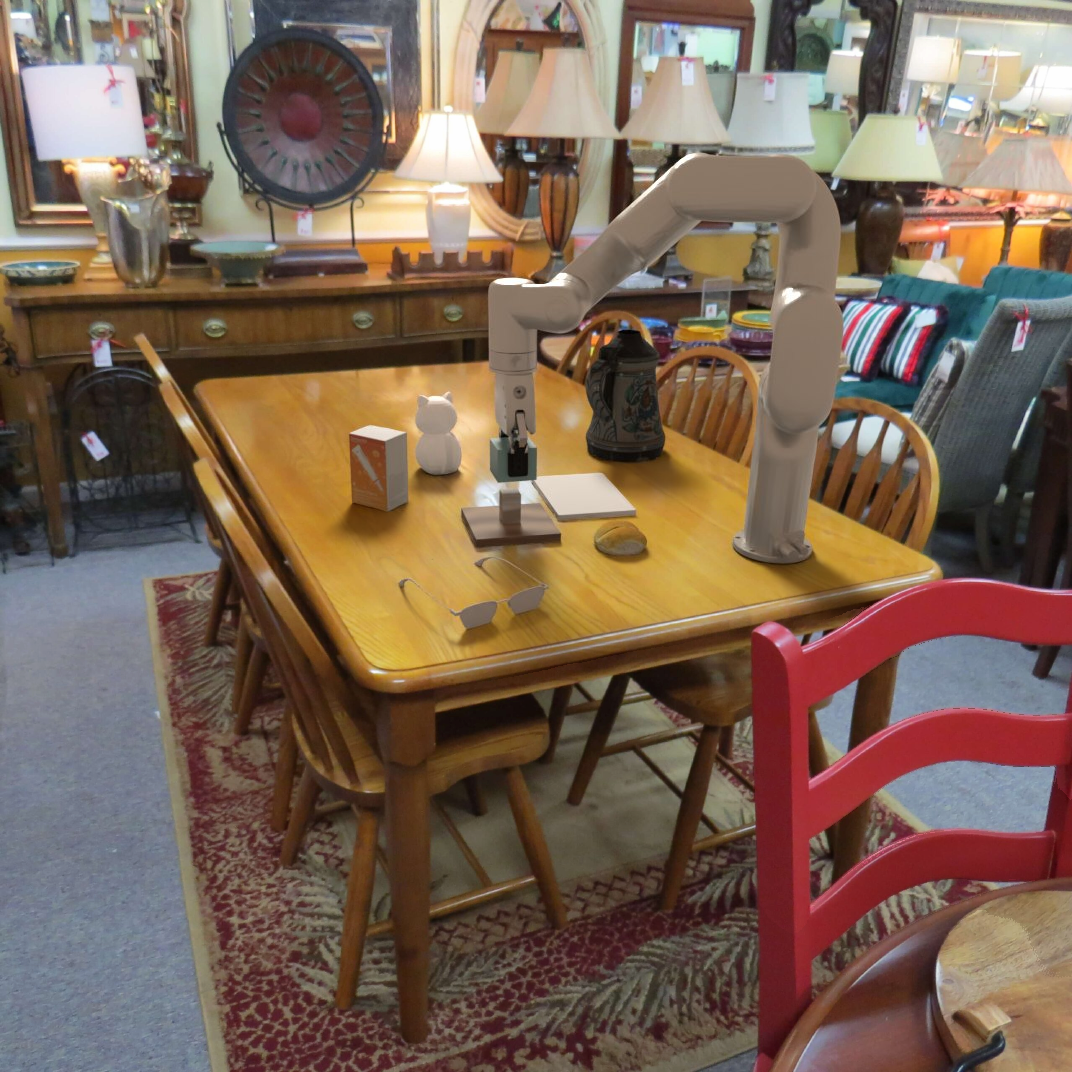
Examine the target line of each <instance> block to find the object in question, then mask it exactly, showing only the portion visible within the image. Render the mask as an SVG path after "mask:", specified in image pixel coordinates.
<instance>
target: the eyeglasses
mask: <svg viewBox="0 0 1072 1072" xmlns="http://www.w3.org/2000/svg"><path fill="white" fill-rule="evenodd" d="M490 559H497V560H501V561H503V562H505V563H507V564H510V565H511V566H513V567H514V568H516V569H518V570H519V571H521V572H522V573H524V574H526V575H527V576H529V577H530V578H532V579H534V580H535V581H536V582H538V583H539V584H540V585H538V586H537V585H536V586H533V587H530V588H526V589H523V590H521V591H518V592H515V593H513V594H512V595H511V596H510V598H505V599H500V600H499V601H498V600H497V601H496V600H485V601H482V602H477V603H474V604H471V605H469V606H468V605H467V606H465V607H463V608H462V609H461V610H458V611H455V610H454V609H453V608H449V607H447V606H446V605H444V604H443V603H442V602H440V601H439V600H438V599H436V598H435V597H434V596H432V595H431V594H430V593H428V592H427V591H426V590H424V588H422V587H421V586H420V585H419V584H418V582H416V580H414V579H413V578H410V577H405V578H403V579H401V580H399V582H398V583H397V585H399V586H400V587H402V588H403V587H404V586H405V583H406V582H408V581H410V582H413V584H415V586H417V588H420V589H421V590H422V591H423V592H424V593H426V594H427V596H429V597H430V598H432V599H433V600H435V601H436V602H437V603H438V604H440V605H441V606H443V607H445V609H447V610H449V613H450V614H452V615H453V616H454V617H458V616H459V619H460V622H461V623H462V625H463V627H464V628H465V629H466V630H470V629H473V628H477V627H480V626H482V625H486V624H490V623H492V621H493V620H494V617H495V615H496V612H497V609H498V604H500V603H503V602H507V607H508V608H510V609H511V611H512V613H513V614H514V615H518V614H522V613H525V612H528V611H533V610H535V609H538V608H539V607H540V605H541V602H542V600H543V599H544V595H545V591H546V590H549V587H550V586H549V585H548V584H546V583H545V582H541V581H539V580H538V579H536V578H535V577H534V576H533V575H530V574H529V573H527V572H526V571H524V569H521V568H519V567H518V566H516V565H515V564H513V563H511V562H510V561H509V560H507V559H504V558H502V557H500V556H486V557H482V558H480V559H478V560H476V561H474V562H473V565H476V566H478V567H482V566H483V564H484V562H486V561H488V560H490Z"/></svg>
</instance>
